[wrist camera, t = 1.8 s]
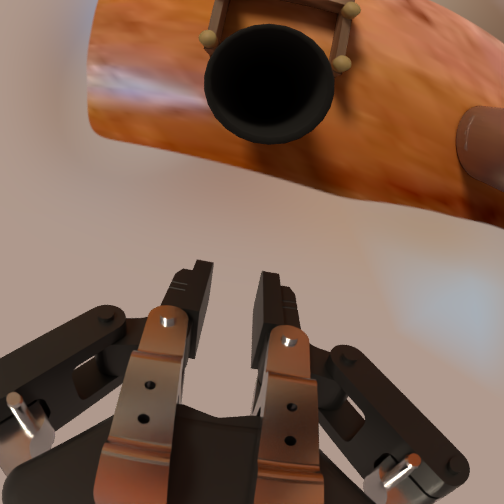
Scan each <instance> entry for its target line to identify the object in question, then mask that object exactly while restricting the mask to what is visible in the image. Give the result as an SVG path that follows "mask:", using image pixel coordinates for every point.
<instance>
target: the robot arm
mask: <svg viewBox="0 0 504 504" xmlns="http://www.w3.org/2000/svg"><path fill="white" fill-rule="evenodd" d="M456 147H457V153H458V157H459V160H460V163H461V164H462V166H463V168H464V170H465V171H466V172H467V173H468V174H469V175H470V176H471V177H473V178H475V179H477V180H479V181H482V182H484V183H486V184H488V185H490V186H492V187H494V188H496V189H498V190H500V191H502V192H504V109H503V108H496V107H486V106H476V107H472V108H471V109H469V110H468V111H467V112H466V113H465V114H464V115H463V116H462V118H461V120H460V122H459V125H458V129H457V135H456ZM212 273H213V262H207V261H202V260H197V261H196V263H195V266H194V268H193V270H188V269H182V270H180V271H179V272H177V273H176V274H175V276H174V278H173V280H172V282H171V284H170V286H169V289H168V290H167V293H166V295H165V297H164V299H163V301H162V303H161V306H158V307H156V308H154V309H153V310H151V311H150V313H149V315H148V317H145V318H126V316H125V313H124V312H123V311H122V310H121V309H120V308H118V307H116V306H112V305H101V306H97V307H95V308H93V309H91V310H89V311H87V312H85V313H83V314H82V315H80V316H78V317H76V318H74V319H72V320H70V321H68V322H67V323H65V324H63V325H61V326H59V327H57V328H55V329H53V330H51V331H50V332H48V333H46V334H44V335H42V336H40V337H38V338H37V339H35V340H33V341H31V342H29V343H27V344H26V345H24V346H22V347H20V348H18V349H16V350H15V351H13V352H11V353H9V354H7V355H6V356H4V357H2V358H0V467H1V469H2V470H3V472H4V473H5V475H6V476H7V478H6V480H5V482H4V485H3V490H2V501H3V504H433V503H435V502H437V501H438V500H440V499H441V498H443V497H444V496H446V495H447V494H449V493H450V492H452V491H453V490H455V489H456V488H458V487H459V486H460V485H462V484H463V483H464V482H465V481H466V480H467V479H468V477H469V473H470V468H469V463H468V461H467V459H466V458H465V456H464V455H463V454H462V453H461V452H460V451H459V450H458V449H457V448H456V447H455V446H454V445H453V444H452V443H451V442H450V441H449V440H448V439H447V438H446V437H445V436H444V435H443V434H442V433H441V432H440V431H439V430H438V429H437V428H436V427H435V426H434V425H433V424H432V423H431V422H430V421H429V420H428V419H427V418H426V417H425V416H424V415H423V414H422V413H421V412H420V411H419V409H417V408H416V407H415V406H414V404H412V402H411V401H410V400H409V399H408V398H407V397H406V396H405V395H404V394H403V393H402V392H401V391H400V390H399V389H398V388H397V387H396V386H395V385H394V384H393V383H392V382H391V381H390V380H389V379H388V378H387V377H386V376H385V375H384V374H383V373H382V372H381V371H380V370H379V369H378V368H377V367H376V366H375V365H374V364H373V363H372V362H371V361H370V360H369V359H368V358H367V357H366V356H365V355H364V354H363V353H362V352H361V351H359V350H358V349H356V348H355V347H352V346H349V345H338V346H335V347H334V348H333V349H332V350H331V352H328V351H325V350H322V349H319V348H317V347H315V346H313V345H311V344H310V343H309V338H308V336H307V335H306V334H305V333H304V332H303V331H302V330H301V327H300V322H299V315H298V310H297V304H296V298H295V294H294V292H293V291H292V290H291V289H290V287H287V286H280V277H279V274H277V273H271V272H265V271H262V273H261V277H260V281H259V286H258V290H257V294H256V299H255V303H254V309H253V327H252V356H251V368H252V369H258V377H257V380H256V383H255V389H254V395H253V402H252V408H251V414H250V416H240V417H226V418H217V417H214V416H211V415H208V414H206V413H203V412H201V411H198V410H195V409H193V408H191V407H188V406H186V405H182V404H181V402H182V393H183V384H184V374H185V367H186V365H187V362H188V358H192V359H195V356H196V351H197V347H198V343H199V339H200V335H201V331H202V326H203V322H204V318H205V314H206V310H207V306H208V300H209V295H210V287H211V280H212ZM92 356H95V357H94V358H92V359H91V360H89V361H88V362H86V363H84V364H83V365H81V366H80V367H78V368H77V369H75V368H76V367H77V366H78V365H79V364H81V363H83V362H84V361H86V360H88V359H89V358H91V357H92ZM74 369H75V370H74ZM122 383H123V384H122ZM121 384H122V387H121V391H120V394H119V398H118V402H117V406H116V409H115V413H114V415H113V416H111V417H109V418H107V419H106V420H104V421H102V422H100V423H98V424H97V425H95V426H93V427H91V428H90V429H88V430H86V431H84V432H82V433H80V434H79V435H77V436H75V437H73V438H71V439H69V440H67V441H66V442H64V443H62V444H60V445H58V446H56V447H54V448H52V449H51V445H52V444H53V442H54V439H55V431H57V430H58V429H59V428H61V427H62V426H64V425H65V424H67V423H68V422H69V421H71V420H72V419H74V418H75V417H76V416H78V415H79V414H81V413H82V412H83V411H85V410H86V409H88V408H89V407H90V406H92V405H93V404H95V403H96V402H97V401H99V400H100V399H102V398H103V397H104V396H106V395H107V394H109V393H110V392H111V391H113V390H114V389H115V388H117V387H118V386H119V385H121ZM348 396H349V397H350V398H351V399H352V400H353V401H354V403H355V404H356V405H357V406H358V407H359V408H360V409H361V410H362V412H363V413H364V415H365V420H364V419H363V418H362V416H361V415H360V414H359V413H358V412H357V411H356V410H355V408H354V407H353V406H352V405H351V404H350V403H349V402H348V400H347V397H348ZM319 424H320V425H321V426H322V428H323V429H324V430H325V432H326V433H327V434H328V435H329V437H330V438H331V439H332V441H333V442H334V443H335V444H336V445H337V447H338V448H339V449H340V450H341V452H342V453H343V454H344V456H345V457H346V458H347V459H348V461H349V462H350V463H351V464H352V466H353V467H354V468H355V469H356V470H357V472H358V473H359V474H360V475H361V477H362V478H363V479H364V483H363V488H364V492H363V491H362V490H361V489H360V488H359V487H358V486H357V485H356V484H355V483H353V482H352V481H351V480H350V479H349V478H348V477H347V476H346V475H345V474H344V473H343V472H342V471H341V470H340V469H339V468H338V467H337V466H336V465H335V464H334V463H333V462H332V461H331V460H330V459H329V458H328V457H327V456H326V455H325V454H324V453H323V452H322V451H321V450H320V449H319Z"/></svg>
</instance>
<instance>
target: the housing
mask: <svg viewBox="0 0 504 504" xmlns="http://www.w3.org/2000/svg"><path fill="white" fill-rule="evenodd" d="M229 1H230V0H215V2H214V6H213V10H212V15H211V19H210V23H209V27H208V30H205V31H203V32H201V34H200V35H199V41H200V42H201V43H202V44H203V46H204V49H205V51H206V52H207V53H208V54H209V55H212V54H213V52H214V51H215V49H216V48H217V47H218V46H219V45H220V40H221V36H222V31H223V27H224V22H225V18H226V14H227V10H228V5H229ZM282 1H287V2H292V3H297V4H301V5H306V6H310V7H314V8H318V9H322V10H326V11H330V12H333V13H337V14H338V15H337V21H336V26H335V32H334V37H333V43H332V48H331V53H330V58H329V62H330V64H331V67H332V71H333V75H334V78H335V77H337V76H340V75H342V72H344V71H346V70H348V69H349V68H350V67H351V61H350V59H349V58H348V57H346V56H345V55H346V49H347V44H348V38H349V33H350V27H351V21H352V19H354V18H355V17H356V16H357V15H358V14H359V13H360V11H361V9H360V6H359V5H358V4H357V3H355V0H282Z"/></svg>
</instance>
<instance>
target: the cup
mask: <svg viewBox="0 0 504 504" xmlns="http://www.w3.org/2000/svg"><path fill="white" fill-rule="evenodd" d="M334 80H335V79H334V75H333V71H332V67H331V64H330V62H329V60H328V58H327V57H326V55H325V53H324V51H323V50H322V49H321V48H320V47H319V46H318V45H317V44H316V43H315V41H314V40H312V39H311V38H309V37H308V36H306V35H305V34H303V33H302V32H300V31H298V30H295V29H292V28H290V27H287V26H282V25H275V24H262V25H253V26H250V27H247V28H244V29H241V30H239V31H237V32H235V33H234V34H232V35H230V36H229V37H227V38H226V39H225V40H224V41H223V42H222V43H221V44H220V45H219V46H218V47H217V48H216V49H215V51H214V52H213V54H212V56H211V58H210V59H209V61H208V64H207V68H206V71H205V75H204V91H205V95H206V99H207V102H208V105H209V107H210V109H211V111H212V112H213V114H214V116H215V118H216V119H217V120H218V121H219V122H220V123H221V124H222V125H223V126H224V127H225V128H226V129H227V130H229V131H230V132H232V133H233V134H235V135H236V136H238V137H240V138H243V139H245V140H248V141H251V142H253V143H261V144H268V145H271V144H282V143H287V142H290V141H293V140H296V139H299V138H301V137H303V136H304V135H306V134H308V133H309V132H311V131H312V130H313V129H314V128H315V127H316V126H317V125H318V124H319V123H320V122H321V121H322V120H323V119H324V117H325V116H326V114H327V112H328V111H329V109H330V107H331V103H332V100H333V96H334Z"/></svg>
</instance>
